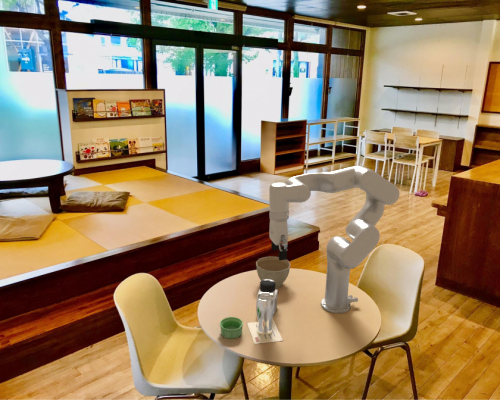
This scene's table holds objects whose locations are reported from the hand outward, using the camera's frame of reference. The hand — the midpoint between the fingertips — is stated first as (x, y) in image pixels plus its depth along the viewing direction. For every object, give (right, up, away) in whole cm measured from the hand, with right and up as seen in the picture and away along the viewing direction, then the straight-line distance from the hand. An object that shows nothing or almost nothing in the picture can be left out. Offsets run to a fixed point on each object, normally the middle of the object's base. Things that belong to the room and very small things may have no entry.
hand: (279, 254), depth 169 cm
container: (-4, -25, +11) cm, 28 cm away
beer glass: (-6, -29, -4) cm, 30 cm away
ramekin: (-19, -30, -6) cm, 36 cm away
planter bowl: (-1, -19, +33) cm, 37 cm away
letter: (-6, -29, -5) cm, 30 cm away
